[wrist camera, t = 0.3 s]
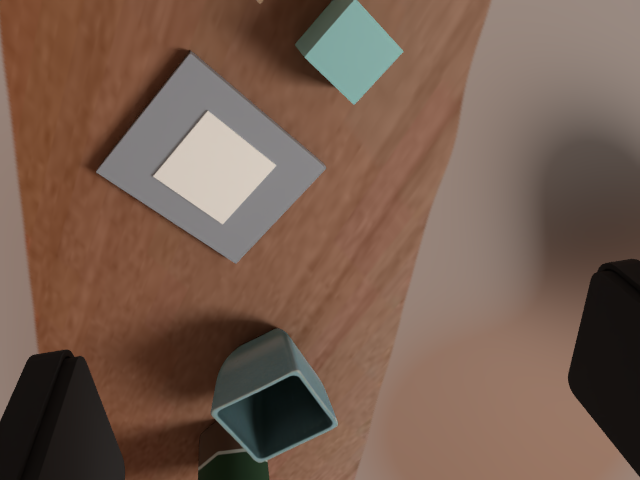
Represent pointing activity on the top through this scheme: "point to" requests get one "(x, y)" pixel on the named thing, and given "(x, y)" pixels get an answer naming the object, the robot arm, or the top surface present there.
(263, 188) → the pad
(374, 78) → the teal block
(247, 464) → the beer bottle
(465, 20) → the top surface
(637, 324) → the robot arm
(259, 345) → the flower pot
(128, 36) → the top surface
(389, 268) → the top surface
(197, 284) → the top surface
